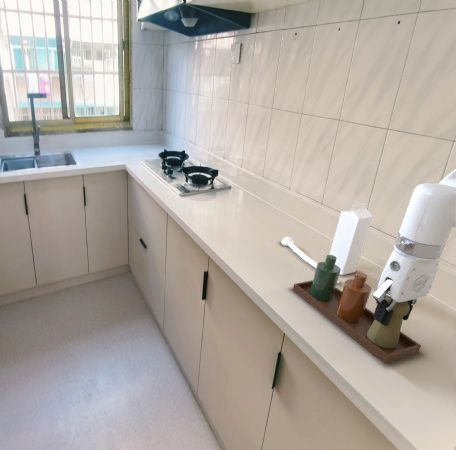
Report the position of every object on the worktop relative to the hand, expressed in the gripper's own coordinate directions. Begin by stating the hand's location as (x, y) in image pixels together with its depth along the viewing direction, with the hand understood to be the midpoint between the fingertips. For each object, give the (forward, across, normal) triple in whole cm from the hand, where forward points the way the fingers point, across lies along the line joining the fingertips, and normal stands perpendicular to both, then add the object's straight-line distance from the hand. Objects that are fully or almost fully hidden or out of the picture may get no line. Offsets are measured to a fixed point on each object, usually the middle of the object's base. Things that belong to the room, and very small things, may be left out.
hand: (390, 318), depth 74 cm
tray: (+7, 0, +9) cm, 11 cm away
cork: (+6, 0, 0) cm, 6 cm away
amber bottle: (+6, 0, +9) cm, 11 cm away
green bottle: (+6, 0, +18) cm, 19 cm away
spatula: (+7, +12, +35) cm, 38 cm away
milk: (+7, +18, +28) cm, 34 cm away
